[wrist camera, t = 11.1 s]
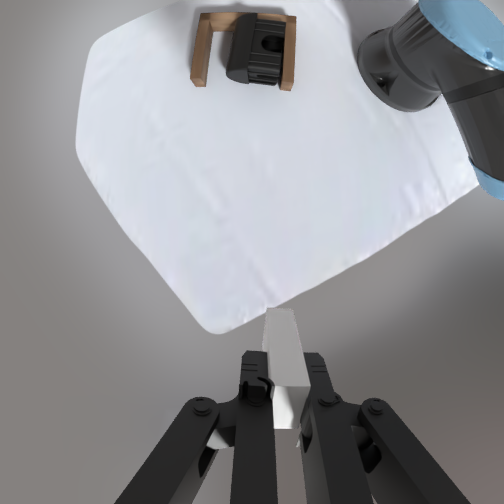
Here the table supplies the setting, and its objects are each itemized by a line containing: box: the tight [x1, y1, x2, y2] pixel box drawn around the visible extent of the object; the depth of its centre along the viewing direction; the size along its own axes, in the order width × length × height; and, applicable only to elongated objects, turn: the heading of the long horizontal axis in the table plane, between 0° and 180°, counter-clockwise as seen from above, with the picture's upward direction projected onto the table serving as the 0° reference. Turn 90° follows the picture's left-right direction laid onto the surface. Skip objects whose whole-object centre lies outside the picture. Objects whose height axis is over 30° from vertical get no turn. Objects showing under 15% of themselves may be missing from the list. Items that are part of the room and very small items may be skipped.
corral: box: [190, 12, 296, 91], centre depth 32 cm, size 14×12×4 cm
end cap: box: [226, 13, 286, 86], centre depth 31 cm, size 10×7×7 cm
